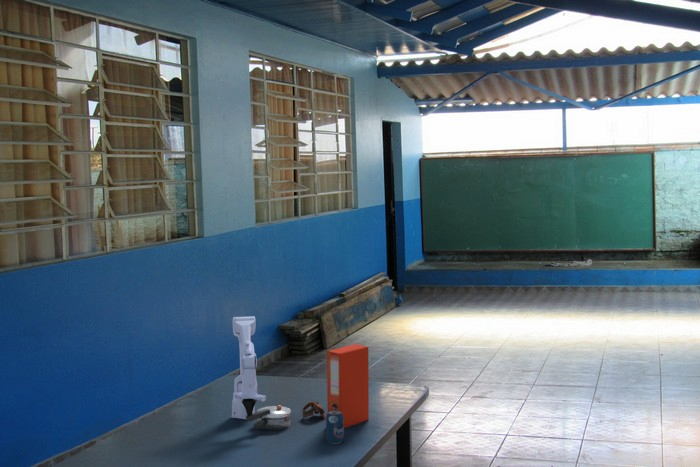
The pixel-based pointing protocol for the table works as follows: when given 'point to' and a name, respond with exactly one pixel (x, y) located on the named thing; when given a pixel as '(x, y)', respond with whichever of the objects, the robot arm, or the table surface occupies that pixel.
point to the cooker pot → (272, 423)
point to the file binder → (348, 383)
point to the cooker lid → (269, 413)
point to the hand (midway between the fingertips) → (249, 416)
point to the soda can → (334, 426)
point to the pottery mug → (313, 409)
